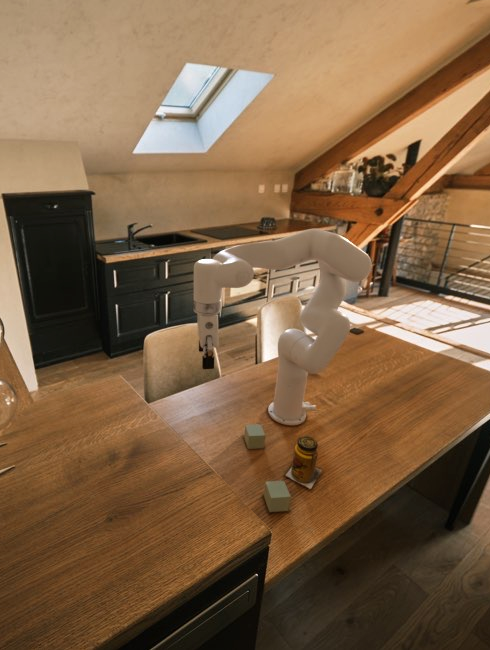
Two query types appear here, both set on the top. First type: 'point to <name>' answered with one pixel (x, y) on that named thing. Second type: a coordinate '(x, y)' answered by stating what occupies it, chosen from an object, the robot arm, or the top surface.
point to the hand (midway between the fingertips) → (206, 359)
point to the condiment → (305, 462)
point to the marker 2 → (276, 496)
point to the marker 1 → (254, 436)
